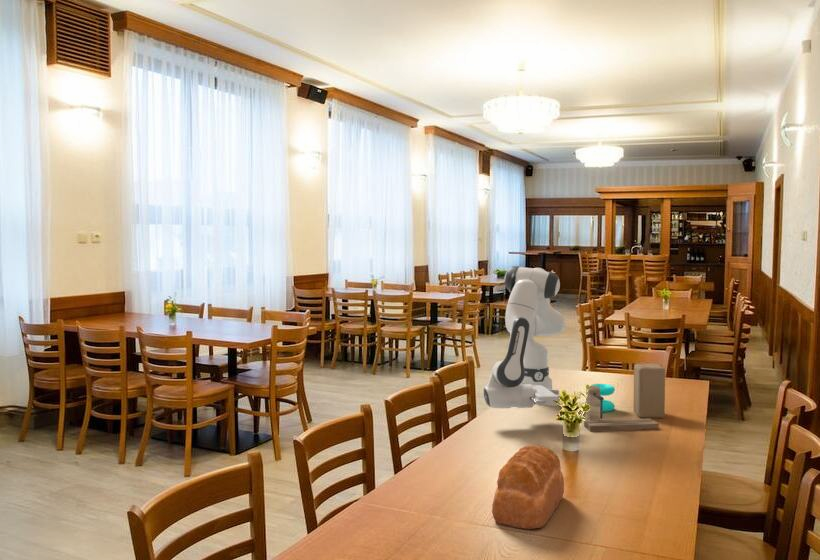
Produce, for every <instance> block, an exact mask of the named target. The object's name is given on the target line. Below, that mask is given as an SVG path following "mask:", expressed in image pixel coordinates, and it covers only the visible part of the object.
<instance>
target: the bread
mask: <svg viewBox="0 0 820 560" xmlns="http://www.w3.org/2000/svg"><path fill="white" fill-rule="evenodd" d="M561 468H562V467H561V460H560V458H559V456H558V455H557V453H556V452H554V451H553V450H552V449H550V448H548V447H546V446H542V445H539V446H538V445H526V446H523V447H520V448H519V450H518V451H517V452H515V453H514V455H512V457H510V458H509V459H508V460H507V462H506V463H505V464H504V465H503V466H502V467H501V468H500V470H499V472H498V477H497V481H496V482H497V483H496V485H497V487H496V490H495V492H494V496H493V501H492V505H491V506H492V507H491V508H492V509H491V513H492V517H493V519H494V521H496V522H497V524H500V525H503V526H508V527H512V528H516V529H527V530H528V529H529V530H533V529H542V528H543V527H545V525H546V524H547V523H548V521H549V519H550V518H551V517H552V515H553V514H554V510H557V509H558V506H559V504H560V502H561V500H562V498H563V496H564V493H565V481H564V475H563V472H562V469H561Z"/></svg>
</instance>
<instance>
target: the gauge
mask: <svg viewBox="0 0 820 560" xmlns="http://www.w3.org/2000/svg"><path fill="white" fill-rule="evenodd" d="M589 386H590V388H589V390H588V392H587V388H586V387H585V396H586V395H587V394H588V397H587V398H586V397H585V404H586V403H587V404H589V405H590V410H589V411H588V412H586V411H585V420H586V419H587V421H598V420H603V412H602V408H603V400H605V398H604V397H603V396H600V387H598V386H591V385H589Z"/></svg>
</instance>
